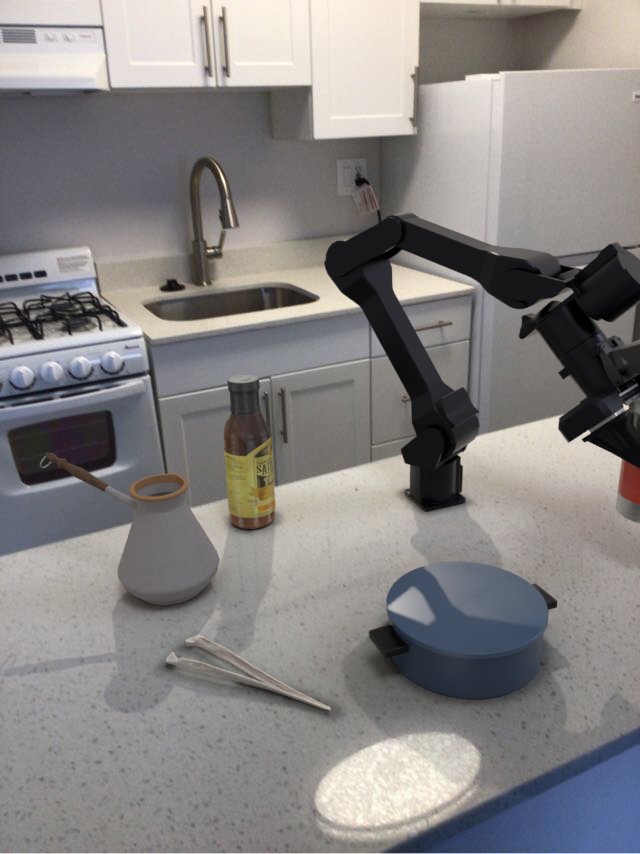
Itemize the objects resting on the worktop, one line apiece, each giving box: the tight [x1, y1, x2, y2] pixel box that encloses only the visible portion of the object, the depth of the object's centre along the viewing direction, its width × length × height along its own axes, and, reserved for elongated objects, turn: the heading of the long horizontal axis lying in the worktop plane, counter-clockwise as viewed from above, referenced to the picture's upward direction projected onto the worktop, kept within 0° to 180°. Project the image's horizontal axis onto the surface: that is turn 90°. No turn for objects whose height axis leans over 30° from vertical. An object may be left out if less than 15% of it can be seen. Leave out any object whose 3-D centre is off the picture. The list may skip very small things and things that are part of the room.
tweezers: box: [165, 634, 332, 712], centre depth 71 cm, size 17×5×2 cm, turn 60°
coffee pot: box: [39, 452, 220, 606], centre depth 86 cm, size 21×12×15 cm, turn 68°
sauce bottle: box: [223, 373, 276, 530], centre depth 98 cm, size 6×6×20 cm
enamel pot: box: [368, 561, 558, 700], centre depth 74 cm, size 19×15×5 cm
